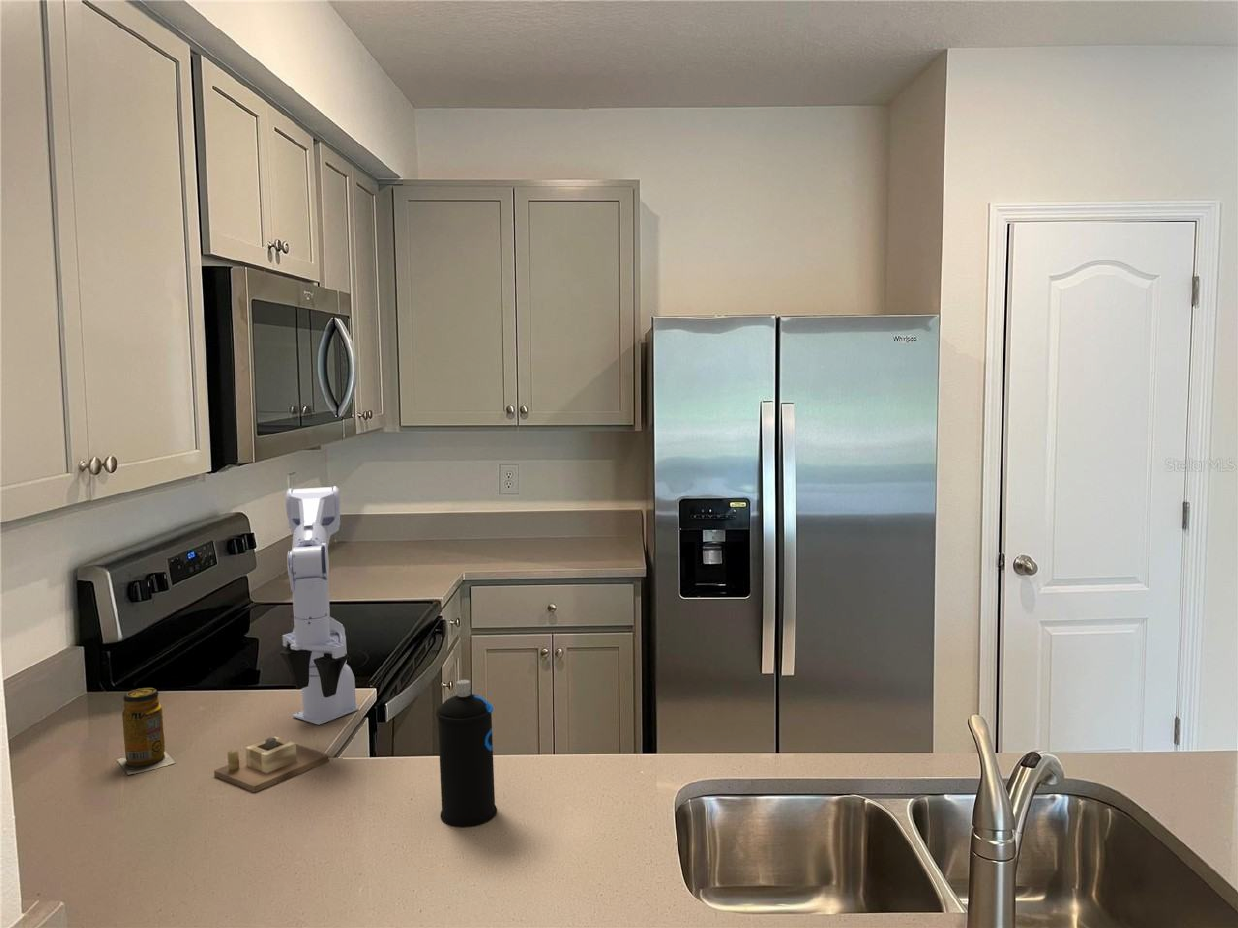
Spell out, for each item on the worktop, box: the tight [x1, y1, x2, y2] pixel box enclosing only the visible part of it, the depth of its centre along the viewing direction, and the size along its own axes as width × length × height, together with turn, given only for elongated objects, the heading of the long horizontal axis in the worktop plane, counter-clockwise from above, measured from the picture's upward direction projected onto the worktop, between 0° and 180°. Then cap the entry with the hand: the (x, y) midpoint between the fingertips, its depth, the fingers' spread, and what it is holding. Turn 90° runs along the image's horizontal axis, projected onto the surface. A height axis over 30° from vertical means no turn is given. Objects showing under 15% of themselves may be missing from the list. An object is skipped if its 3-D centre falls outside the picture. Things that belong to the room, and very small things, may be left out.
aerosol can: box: [435, 679, 498, 828], centre depth 137 cm, size 8×8×20 cm
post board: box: [213, 736, 330, 794], centre depth 155 cm, size 14×11×5 cm
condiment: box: [116, 687, 176, 775], centre depth 158 cm, size 7×8×12 cm
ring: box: [244, 736, 297, 773], centre depth 155 cm, size 6×6×3 cm
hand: (315, 691), depth 163 cm, fingers open, 7 cm apart
